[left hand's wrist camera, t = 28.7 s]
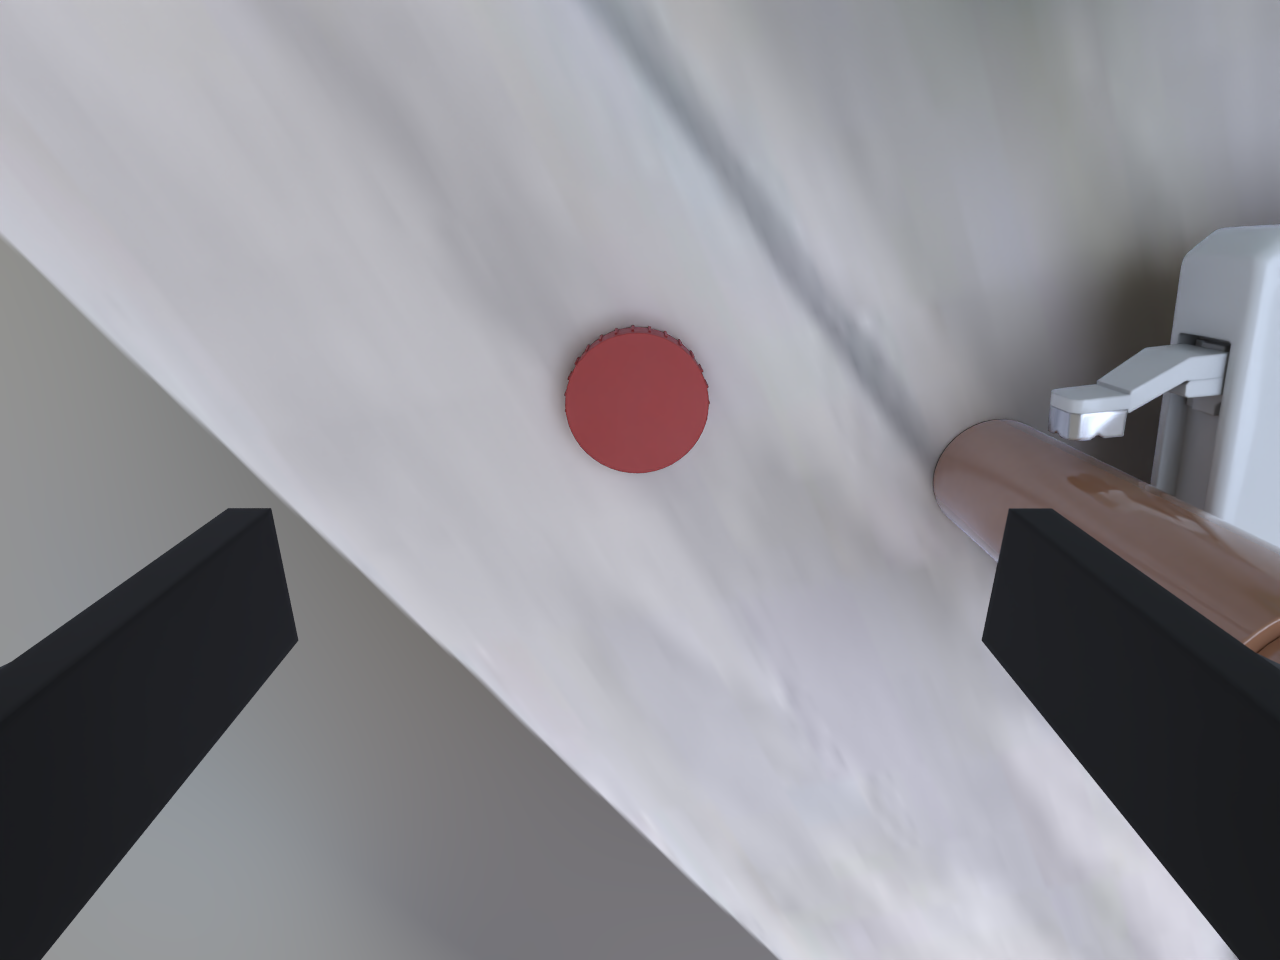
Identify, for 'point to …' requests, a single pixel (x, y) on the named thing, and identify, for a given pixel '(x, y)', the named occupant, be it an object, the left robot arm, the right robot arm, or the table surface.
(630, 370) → the lid
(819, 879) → the table surface
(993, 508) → the jar
